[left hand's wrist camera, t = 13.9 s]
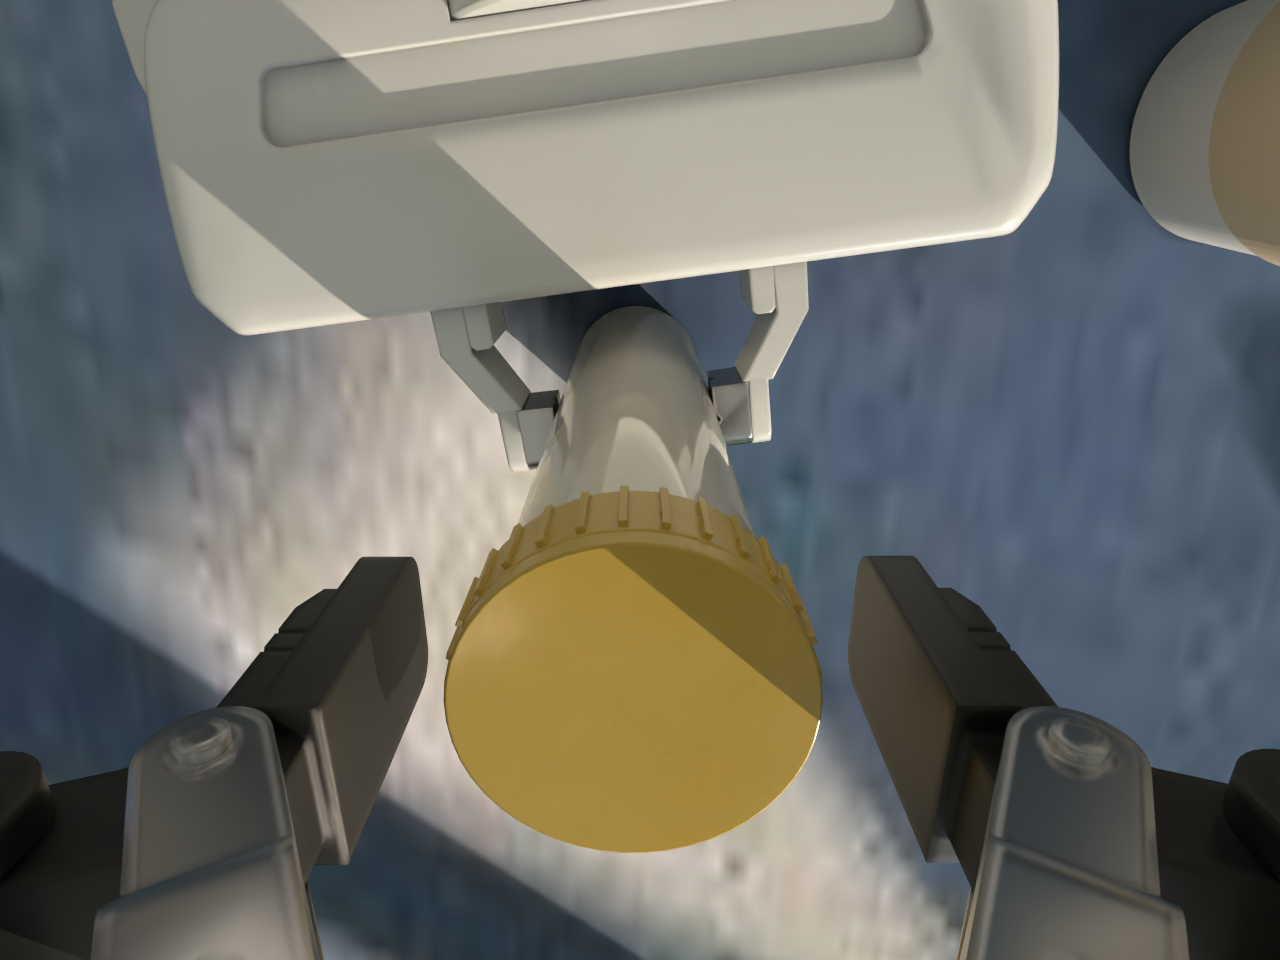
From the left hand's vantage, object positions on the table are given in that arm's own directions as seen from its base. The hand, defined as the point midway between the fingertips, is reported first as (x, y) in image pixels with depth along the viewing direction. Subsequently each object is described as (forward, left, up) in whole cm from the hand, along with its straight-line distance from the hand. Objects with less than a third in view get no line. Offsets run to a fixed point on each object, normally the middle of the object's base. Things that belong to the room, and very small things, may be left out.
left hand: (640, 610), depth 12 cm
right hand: (0, -1, -10) cm, 10 cm away
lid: (0, 0, +2) cm, 2 cm away
